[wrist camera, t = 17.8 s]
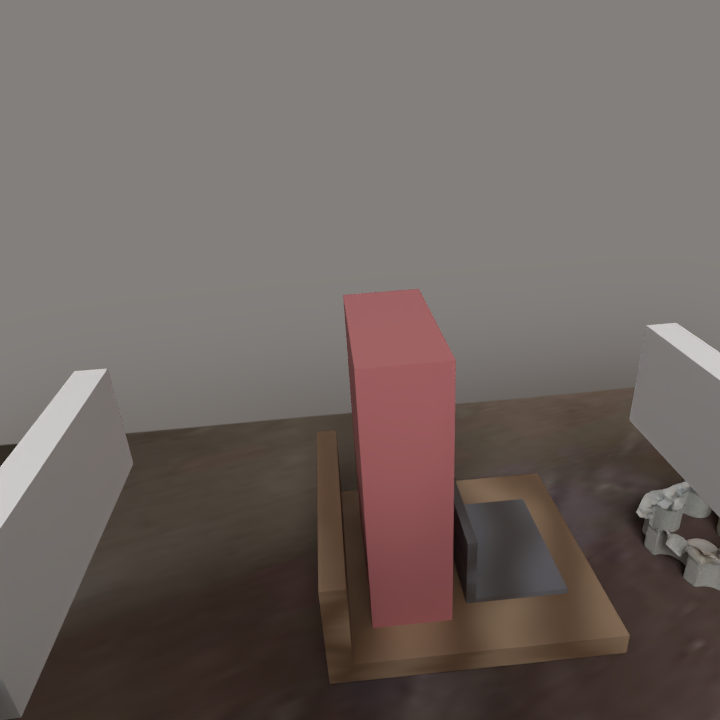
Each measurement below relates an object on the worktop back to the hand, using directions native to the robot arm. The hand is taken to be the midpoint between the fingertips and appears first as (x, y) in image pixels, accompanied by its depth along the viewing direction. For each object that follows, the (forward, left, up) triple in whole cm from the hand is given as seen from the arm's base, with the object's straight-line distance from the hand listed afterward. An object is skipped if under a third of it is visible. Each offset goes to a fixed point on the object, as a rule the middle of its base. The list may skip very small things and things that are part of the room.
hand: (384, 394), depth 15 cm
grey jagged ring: (+15, +28, -26) cm, 41 cm away
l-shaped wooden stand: (-3, +19, -25) cm, 32 cm away
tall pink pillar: (-6, +18, -24) cm, 30 cm away
